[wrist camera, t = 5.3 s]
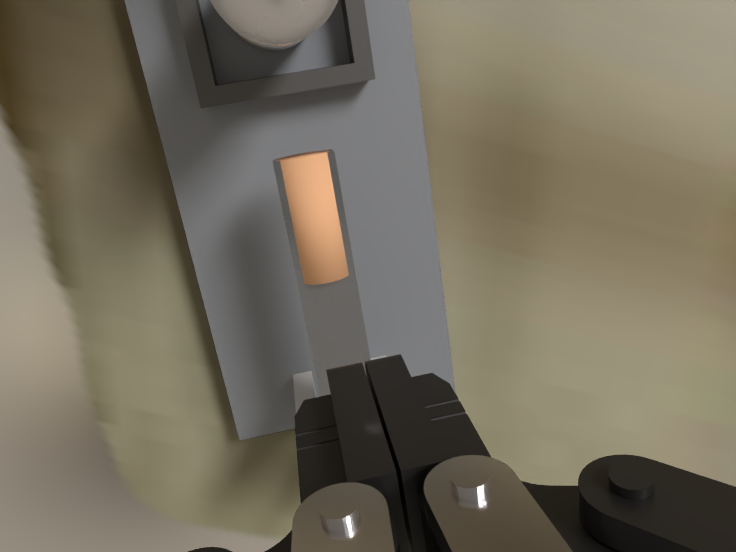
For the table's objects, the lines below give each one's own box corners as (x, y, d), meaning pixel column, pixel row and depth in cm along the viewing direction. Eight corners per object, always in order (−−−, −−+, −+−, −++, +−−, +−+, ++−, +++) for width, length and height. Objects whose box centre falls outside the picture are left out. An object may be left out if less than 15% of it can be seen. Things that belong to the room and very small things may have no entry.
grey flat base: (74, -216, 25) (-16, -348, 17) (370, -251, 26) (415, -390, 18) (240, 425, 35) (233, 531, 27) (448, 381, 36) (499, 470, 28)
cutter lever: (272, 158, 26) (272, 163, 24) (330, 148, 26) (335, 152, 24) (343, 508, 30) (348, 538, 28) (391, 496, 31) (400, 526, 29)
